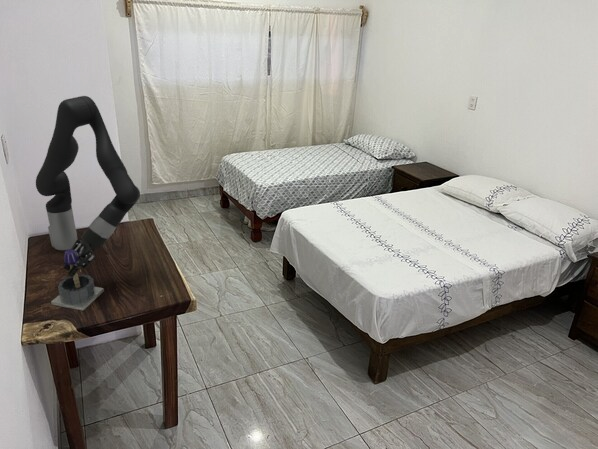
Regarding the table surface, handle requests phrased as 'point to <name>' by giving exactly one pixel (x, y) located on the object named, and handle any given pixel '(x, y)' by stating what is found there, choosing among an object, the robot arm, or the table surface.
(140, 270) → the table surface
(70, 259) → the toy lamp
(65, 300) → the collar stand
